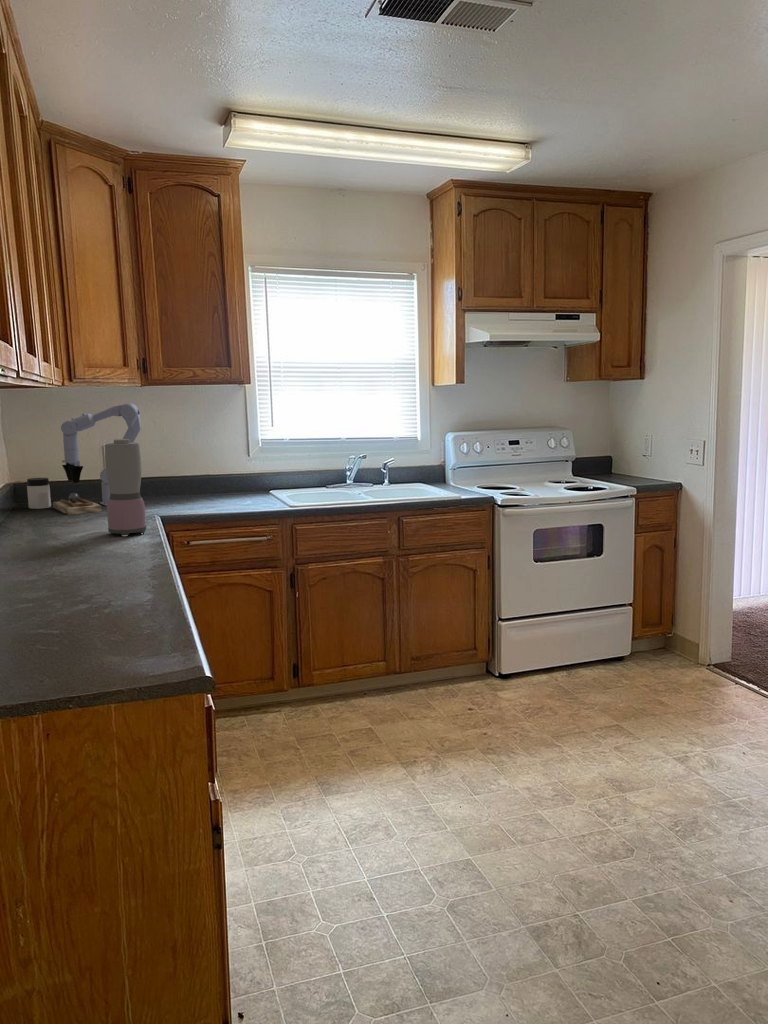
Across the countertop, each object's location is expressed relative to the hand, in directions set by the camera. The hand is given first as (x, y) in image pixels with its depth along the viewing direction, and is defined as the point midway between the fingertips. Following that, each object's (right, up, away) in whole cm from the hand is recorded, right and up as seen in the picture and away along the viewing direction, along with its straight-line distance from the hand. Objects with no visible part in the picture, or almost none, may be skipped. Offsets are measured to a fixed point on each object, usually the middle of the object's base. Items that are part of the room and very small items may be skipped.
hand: (73, 481), depth 316 cm
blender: (+43, -20, -60) cm, 77 cm away
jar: (-12, -11, -4) cm, 17 cm away
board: (+6, -12, -11) cm, 17 cm away
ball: (+3, -7, -7) cm, 11 cm away
